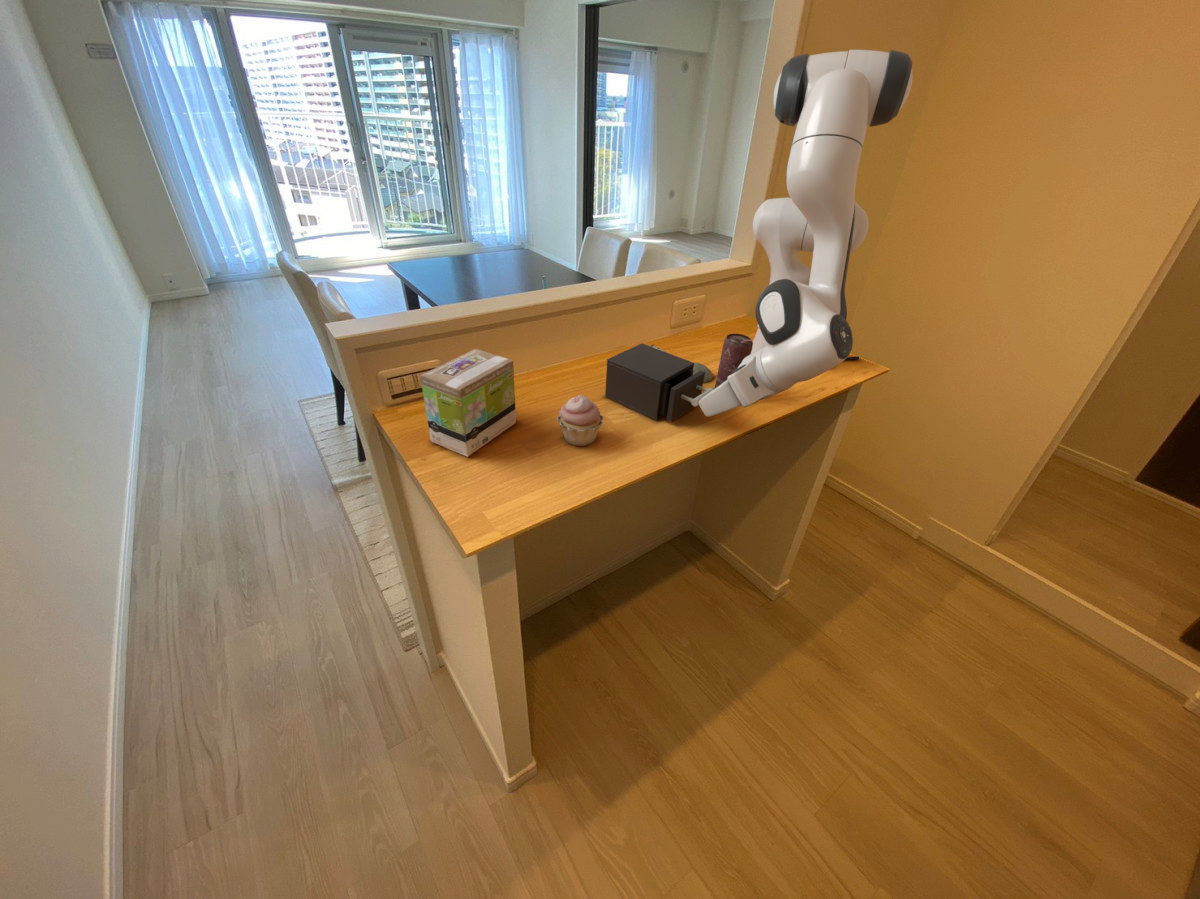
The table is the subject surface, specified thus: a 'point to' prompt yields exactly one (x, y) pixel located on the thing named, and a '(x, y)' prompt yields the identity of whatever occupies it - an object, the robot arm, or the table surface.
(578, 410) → the cupcake
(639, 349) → the black drawer box
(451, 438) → the tea box
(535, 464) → the table surface
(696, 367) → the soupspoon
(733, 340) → the can
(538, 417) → the table surface
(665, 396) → the dark drawer with handle
